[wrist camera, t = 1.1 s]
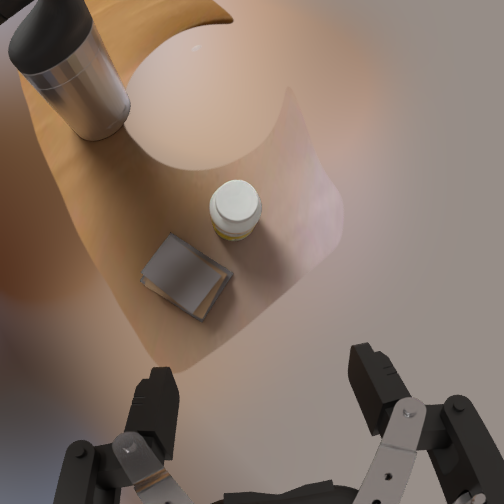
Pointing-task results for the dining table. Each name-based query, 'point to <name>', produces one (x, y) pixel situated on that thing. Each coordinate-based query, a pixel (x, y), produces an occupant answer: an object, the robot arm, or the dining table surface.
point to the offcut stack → (185, 277)
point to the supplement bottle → (235, 210)
